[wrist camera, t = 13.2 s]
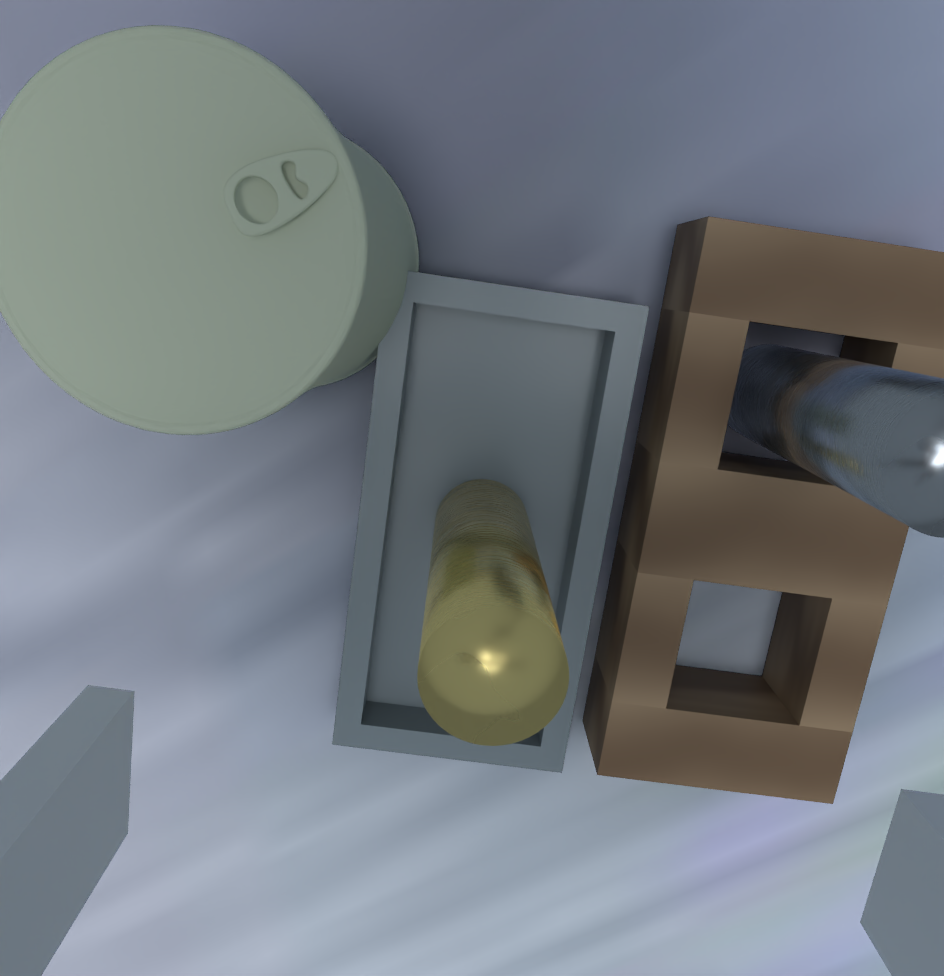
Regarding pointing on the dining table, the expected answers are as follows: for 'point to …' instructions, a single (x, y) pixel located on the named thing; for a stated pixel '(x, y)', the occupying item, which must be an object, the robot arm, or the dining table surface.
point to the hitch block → (752, 520)
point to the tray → (482, 455)
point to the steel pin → (849, 427)
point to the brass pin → (489, 622)
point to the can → (191, 233)
